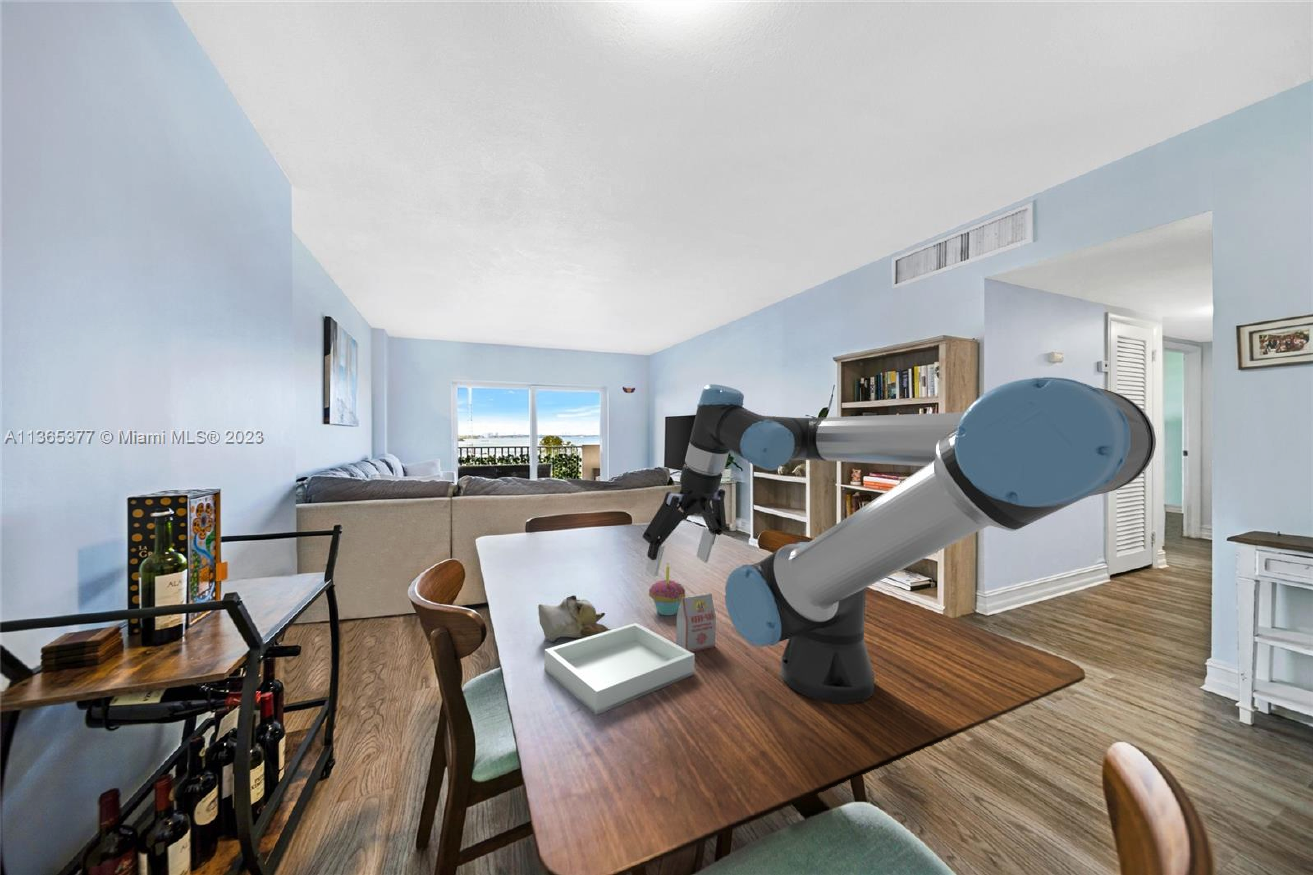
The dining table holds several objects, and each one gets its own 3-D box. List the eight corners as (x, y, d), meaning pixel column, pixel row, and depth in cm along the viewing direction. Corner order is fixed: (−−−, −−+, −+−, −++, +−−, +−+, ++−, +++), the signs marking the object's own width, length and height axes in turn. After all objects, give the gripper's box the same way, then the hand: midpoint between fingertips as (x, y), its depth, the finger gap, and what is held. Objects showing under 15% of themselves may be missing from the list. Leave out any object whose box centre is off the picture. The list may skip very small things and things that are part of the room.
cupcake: (685, 619, 108) (687, 566, 108) (648, 618, 109) (649, 565, 108) (684, 605, 117) (685, 556, 117) (649, 604, 117) (650, 555, 117)
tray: (694, 674, 84) (694, 654, 84) (596, 715, 71) (596, 691, 71) (635, 640, 97) (636, 622, 97) (544, 669, 84) (544, 649, 84)
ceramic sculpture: (536, 588, 101) (606, 586, 106) (533, 629, 101) (603, 625, 106) (541, 606, 91) (618, 603, 96) (538, 652, 91) (615, 647, 96)
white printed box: (676, 645, 95) (677, 594, 95) (705, 639, 98) (706, 590, 98) (685, 653, 92) (686, 601, 92) (715, 646, 95) (716, 596, 95)
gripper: (733, 456, 100) (708, 545, 106) (639, 463, 84) (616, 567, 90) (760, 471, 95) (732, 563, 101) (665, 481, 79) (639, 590, 85)
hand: (677, 565), depth 96 cm, fingers open, 13 cm apart
